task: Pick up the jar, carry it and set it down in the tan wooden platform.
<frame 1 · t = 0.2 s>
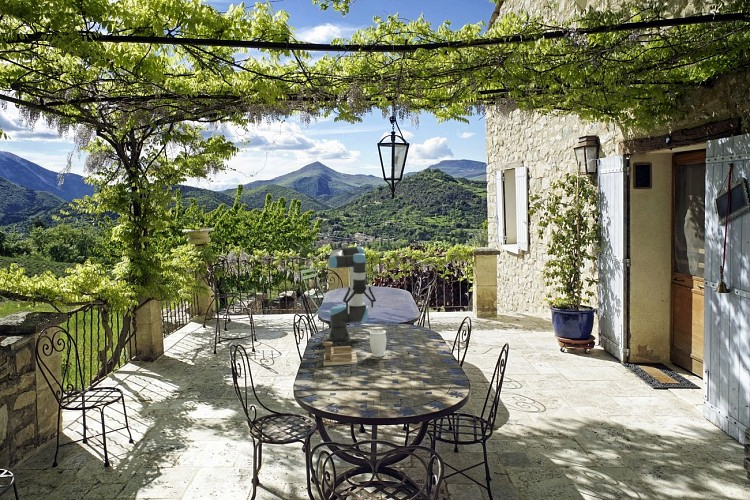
hand: (359, 312, 326), 28 cm above the table, tool pointing down, fingers open, 13 cm apart
jar: (378, 355, 330), on the table
tan wooden platform: (340, 359, 325), on the table
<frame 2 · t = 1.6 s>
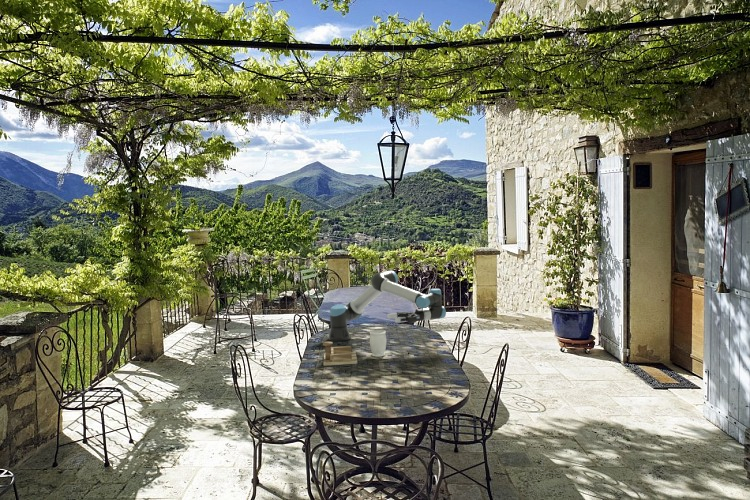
hand: (391, 318, 331), 22 cm above the table, tool horizontal, fingers open, 13 cm apart
nothing on the table moved.
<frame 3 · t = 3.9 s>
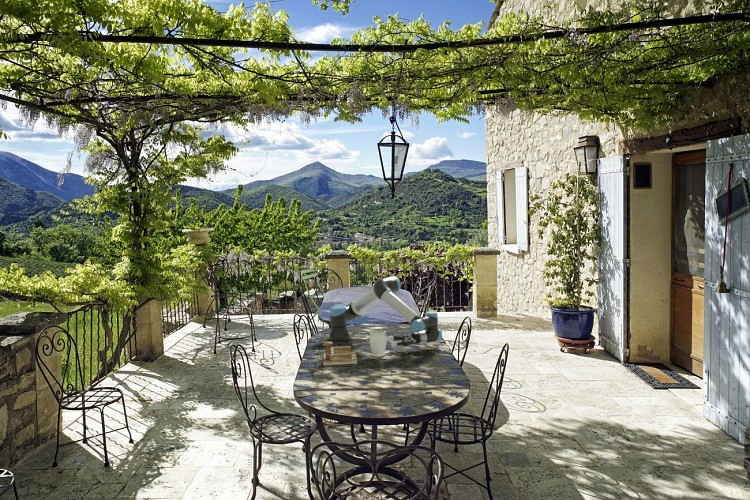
hand: (387, 341, 331), 8 cm above the table, tool horizontal, fingers open, 13 cm apart
nothing on the table moved.
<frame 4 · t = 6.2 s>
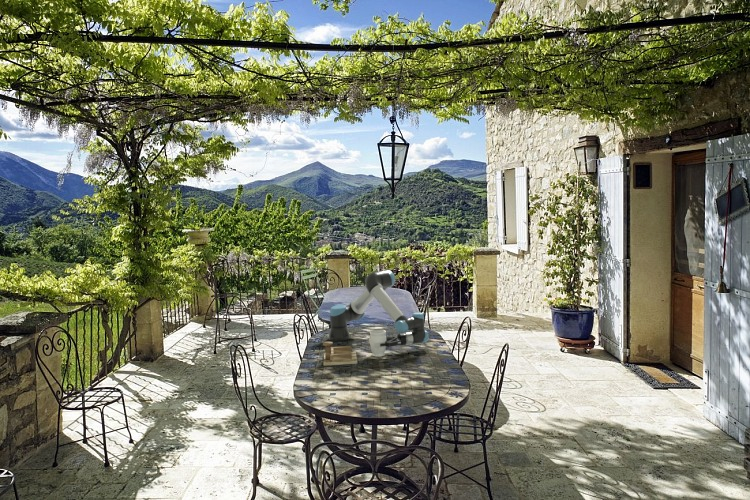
hand: (371, 343, 328), 8 cm above the table, tool horizontal, fingers closed on jar, 10 cm apart
jar: (378, 355, 330), on the table, touching gripper
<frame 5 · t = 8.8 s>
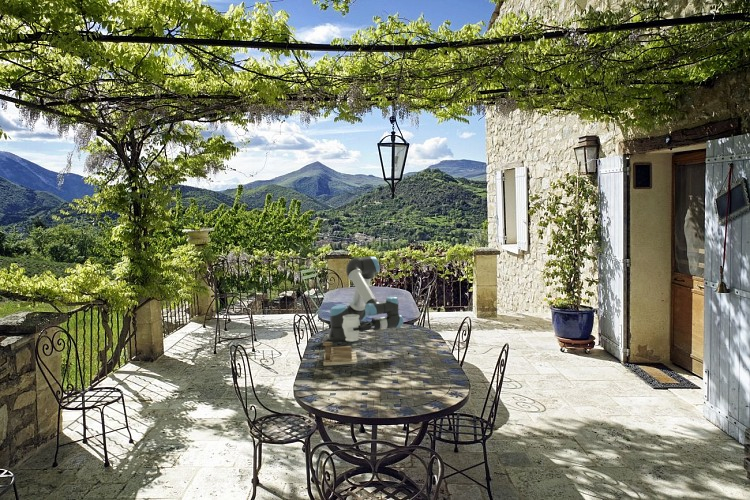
hand: (345, 327, 323), 20 cm above the table, tool horizontal, fingers closed on jar, 10 cm apart
jar: (352, 340, 325), point 11 cm above the table, touching gripper
when the fingers open (10 cm above the table, at t = 11.5 s): jar drops 1 cm, resting on tan wooden platform.
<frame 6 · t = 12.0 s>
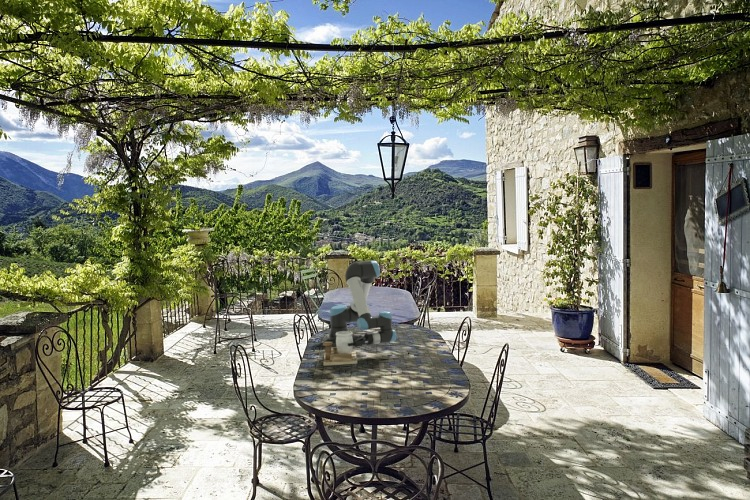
hand: (339, 342, 324), 10 cm above the table, tool horizontal, fingers open, 13 cm apart
jar: (345, 356, 326), point 1 cm above the table, touching tan wooden platform
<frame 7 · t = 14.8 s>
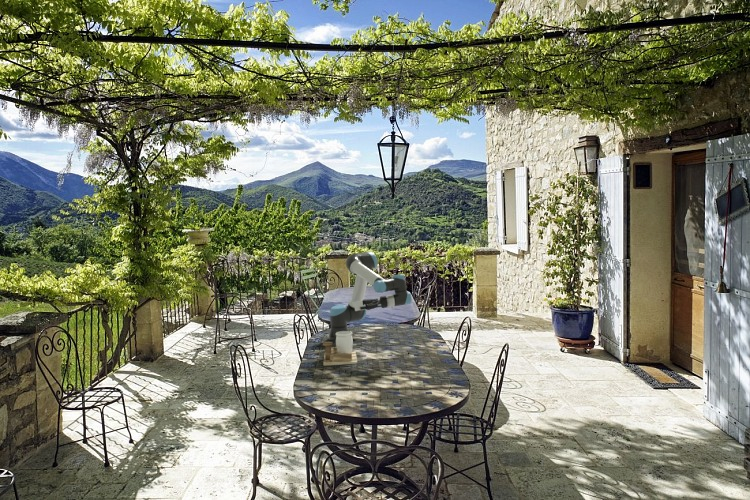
hand: (353, 306, 331), 31 cm above the table, tool horizontal, fingers open, 13 cm apart
nothing on the table moved.
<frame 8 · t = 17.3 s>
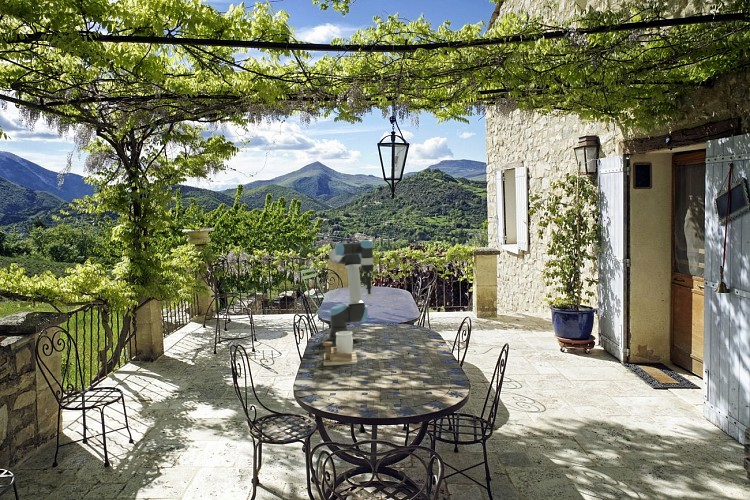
hand: (368, 297, 339), 35 cm above the table, tool pointing down, fingers open, 13 cm apart
nothing on the table moved.
at the end: jar inside the target area (0.1 cm from its centre), point 0.7 cm above the table; jar tilted 0°; the gripper is holding nothing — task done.
